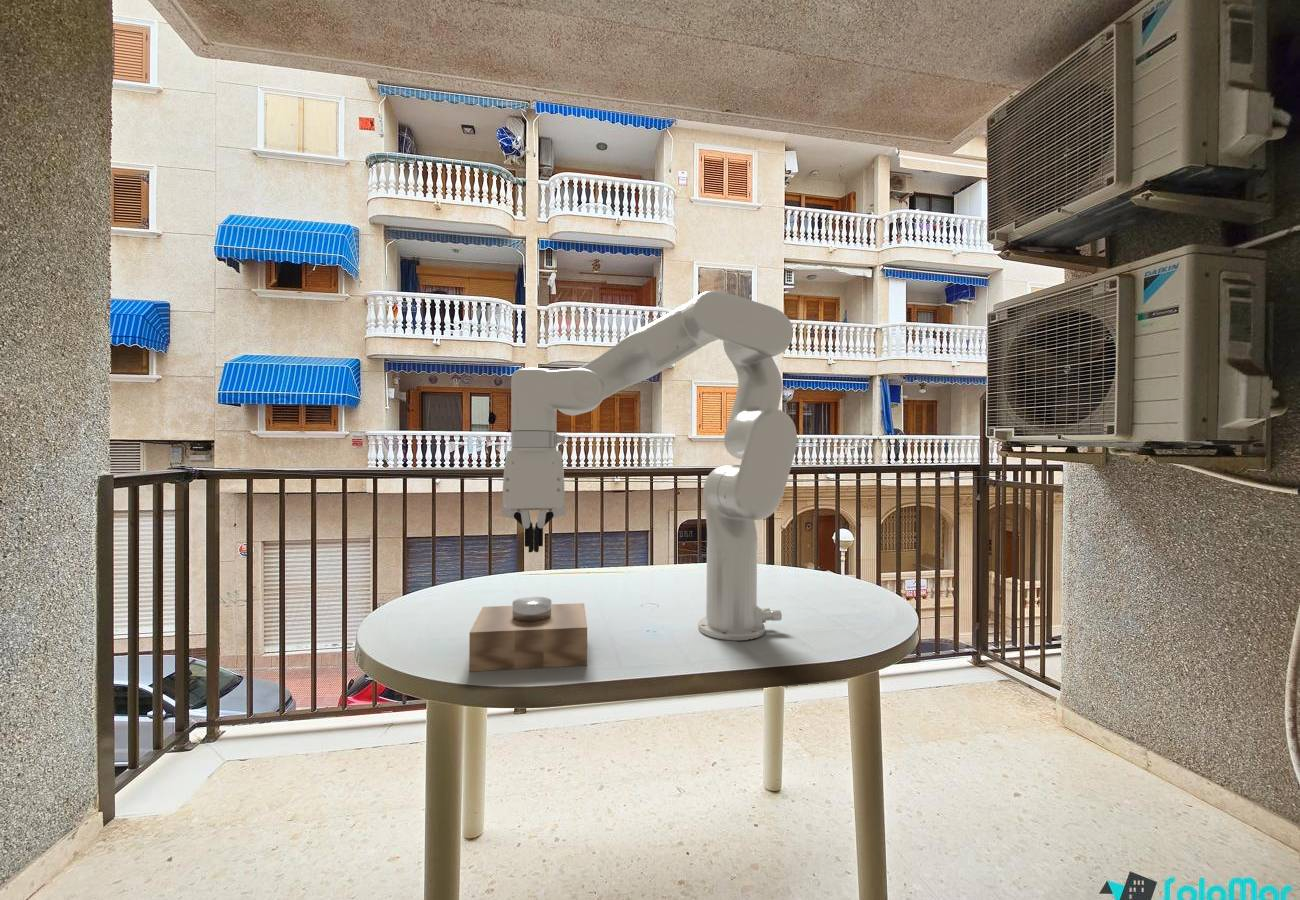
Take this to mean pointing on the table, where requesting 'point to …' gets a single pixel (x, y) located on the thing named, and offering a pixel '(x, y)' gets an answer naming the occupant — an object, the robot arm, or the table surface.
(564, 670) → the table surface
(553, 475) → the robot arm
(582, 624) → the walnut block
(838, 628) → the table surface
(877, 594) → the table surface
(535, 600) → the steel pin
